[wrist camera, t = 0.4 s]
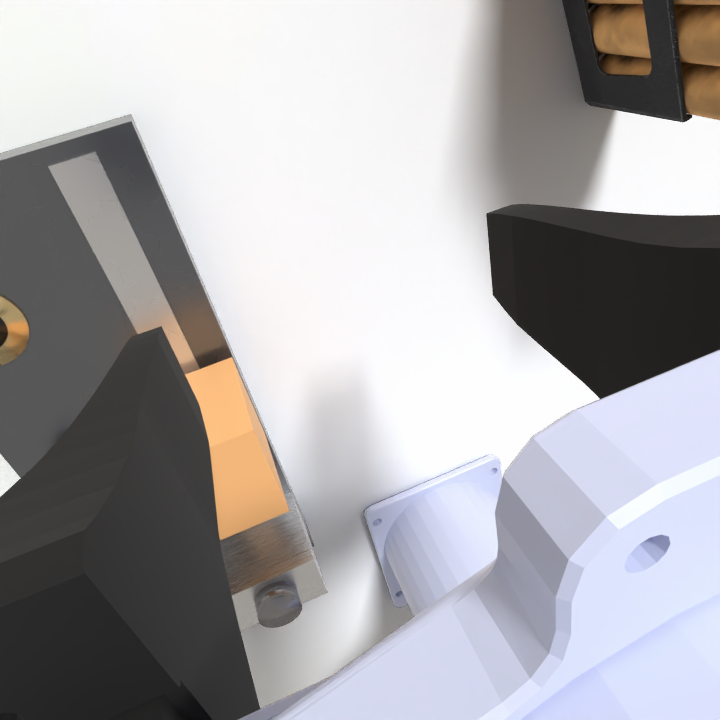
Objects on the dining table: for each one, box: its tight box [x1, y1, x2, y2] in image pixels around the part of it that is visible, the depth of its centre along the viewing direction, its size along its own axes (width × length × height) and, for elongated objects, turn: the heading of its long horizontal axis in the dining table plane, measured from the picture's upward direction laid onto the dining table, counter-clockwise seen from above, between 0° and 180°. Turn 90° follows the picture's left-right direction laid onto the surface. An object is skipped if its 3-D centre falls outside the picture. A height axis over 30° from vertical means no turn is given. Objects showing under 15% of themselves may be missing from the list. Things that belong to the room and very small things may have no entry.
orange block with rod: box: [185, 357, 289, 540], centre depth 20 cm, size 4×8×4 cm, turn 103°
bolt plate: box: [0, 114, 328, 631], centre depth 21 cm, size 21×9×6 cm, turn 13°
